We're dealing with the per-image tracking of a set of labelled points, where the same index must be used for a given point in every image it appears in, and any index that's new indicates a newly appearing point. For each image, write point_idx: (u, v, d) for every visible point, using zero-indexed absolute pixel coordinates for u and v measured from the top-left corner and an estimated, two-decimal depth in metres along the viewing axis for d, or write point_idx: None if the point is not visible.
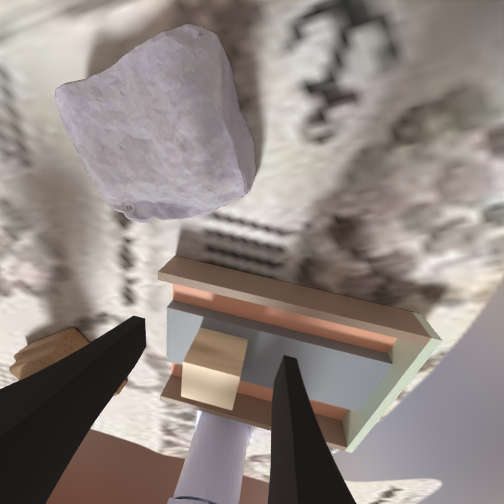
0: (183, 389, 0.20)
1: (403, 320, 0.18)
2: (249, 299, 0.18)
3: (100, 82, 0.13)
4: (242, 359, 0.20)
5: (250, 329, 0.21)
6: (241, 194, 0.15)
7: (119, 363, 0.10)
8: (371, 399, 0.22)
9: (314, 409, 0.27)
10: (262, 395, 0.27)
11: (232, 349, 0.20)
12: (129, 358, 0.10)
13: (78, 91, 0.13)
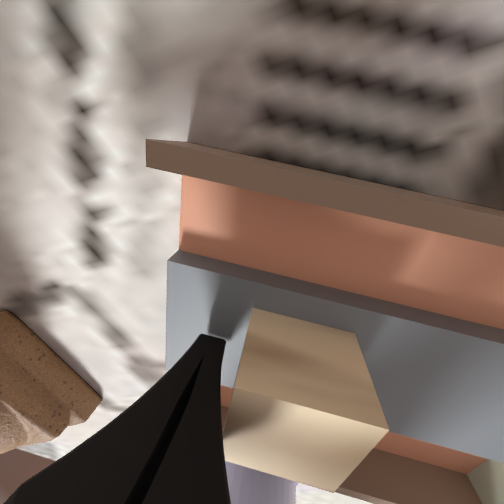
0: (225, 446, 0.09)
1: None
2: (394, 213, 0.07)
3: None
4: (368, 379, 0.08)
5: (346, 306, 0.10)
6: None
7: None
8: None
9: (419, 454, 0.15)
10: None
11: (335, 355, 0.09)
12: None
13: None
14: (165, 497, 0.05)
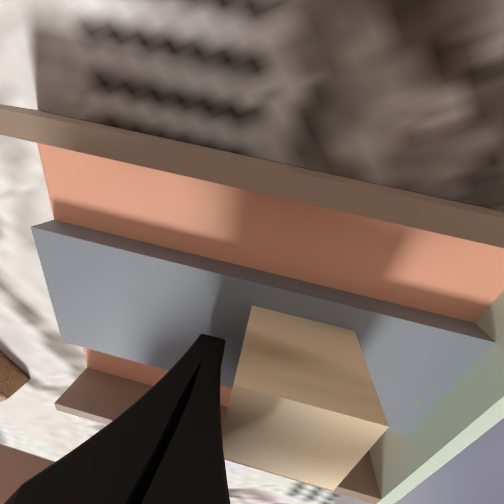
0: (224, 444, 0.09)
1: None
2: (170, 164, 0.07)
3: None
4: (367, 376, 0.08)
5: (197, 269, 0.10)
6: None
7: None
8: (436, 415, 0.11)
9: None
10: None
11: (335, 353, 0.09)
12: None
13: None
14: (164, 497, 0.05)
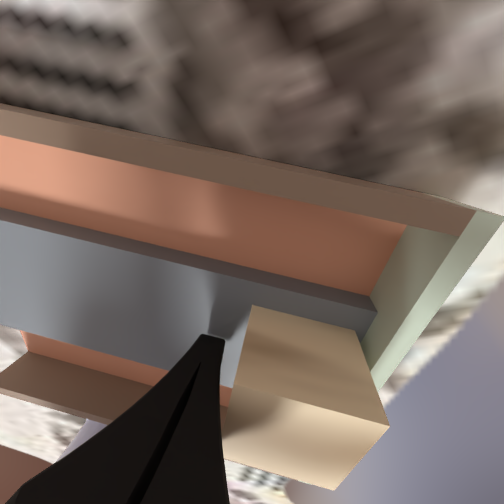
0: (224, 443, 0.09)
1: (400, 191, 0.07)
2: (20, 131, 0.07)
3: None
4: (368, 375, 0.08)
5: (95, 244, 0.11)
6: None
7: None
8: None
9: None
10: None
11: (335, 352, 0.09)
12: None
13: None
14: (164, 497, 0.05)
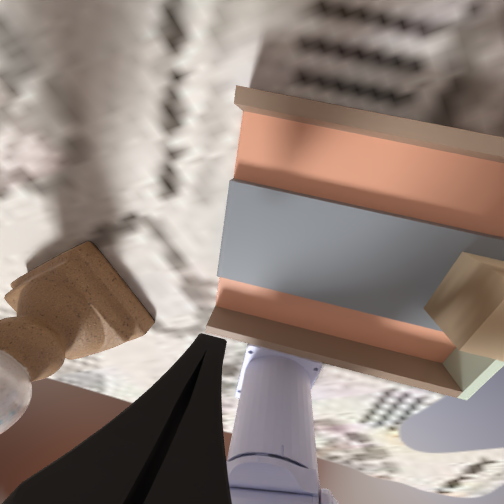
0: (474, 337, 0.13)
1: None
2: (379, 126, 0.11)
3: None
4: None
5: (351, 208, 0.15)
6: None
7: None
8: None
9: (406, 348, 0.20)
10: (337, 330, 0.21)
11: None
12: None
13: None
14: (166, 497, 0.05)
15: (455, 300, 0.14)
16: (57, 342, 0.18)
